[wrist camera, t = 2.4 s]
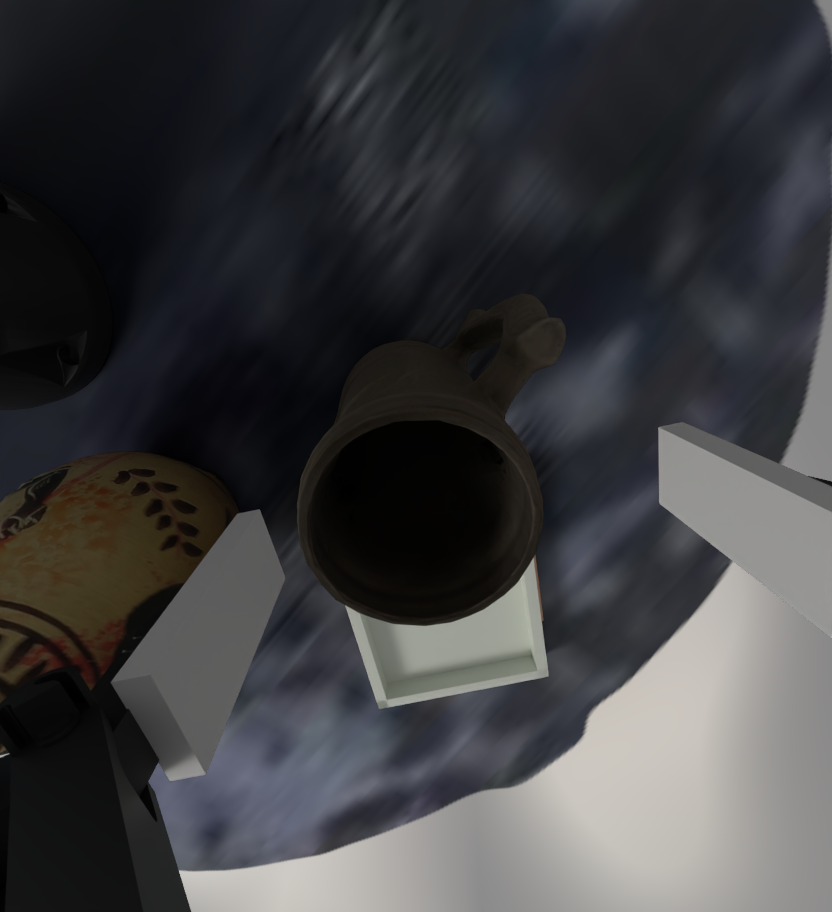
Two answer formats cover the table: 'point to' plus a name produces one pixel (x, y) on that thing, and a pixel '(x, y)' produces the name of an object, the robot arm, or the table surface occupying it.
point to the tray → (456, 649)
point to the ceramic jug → (98, 557)
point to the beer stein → (429, 474)
